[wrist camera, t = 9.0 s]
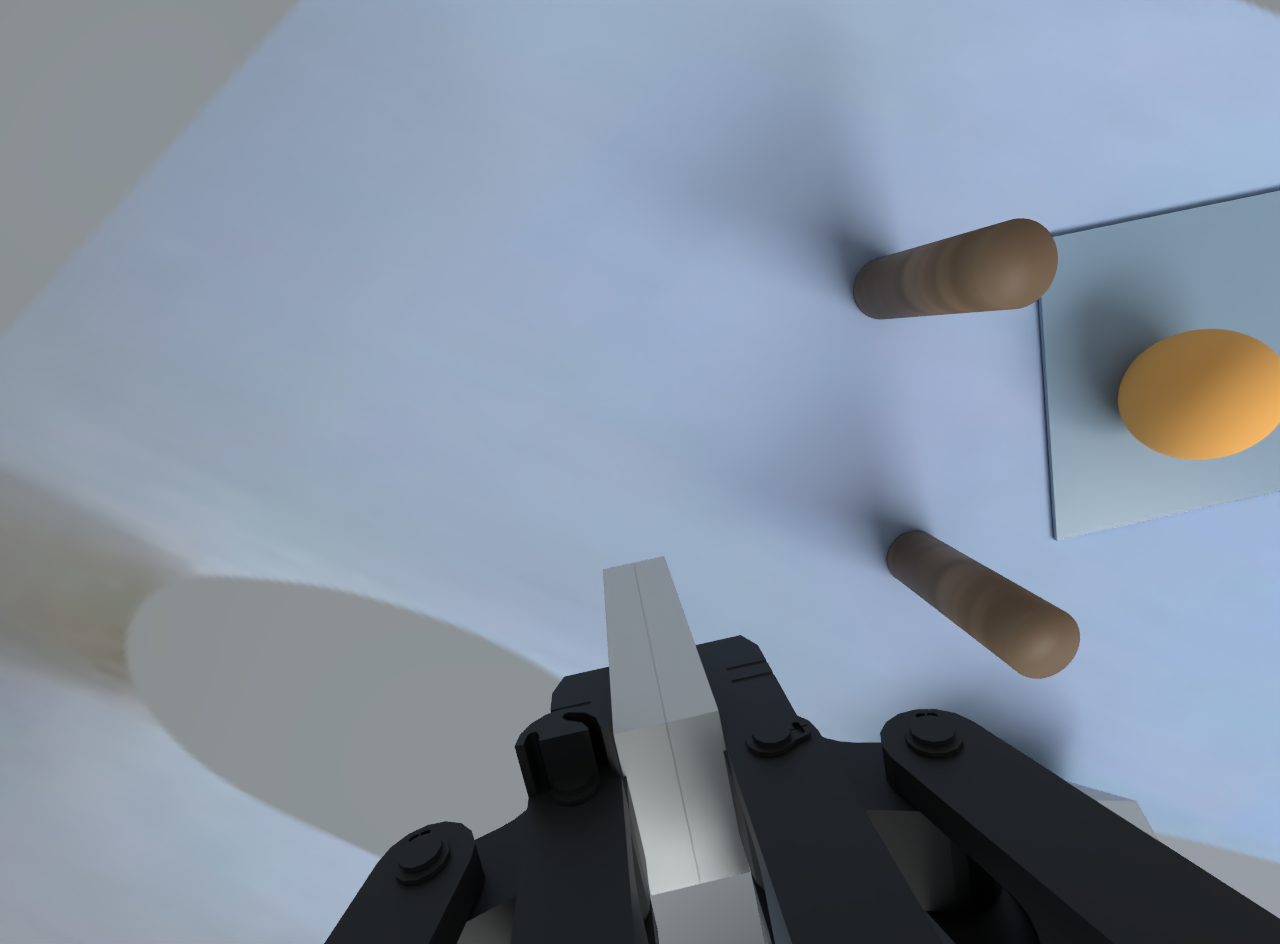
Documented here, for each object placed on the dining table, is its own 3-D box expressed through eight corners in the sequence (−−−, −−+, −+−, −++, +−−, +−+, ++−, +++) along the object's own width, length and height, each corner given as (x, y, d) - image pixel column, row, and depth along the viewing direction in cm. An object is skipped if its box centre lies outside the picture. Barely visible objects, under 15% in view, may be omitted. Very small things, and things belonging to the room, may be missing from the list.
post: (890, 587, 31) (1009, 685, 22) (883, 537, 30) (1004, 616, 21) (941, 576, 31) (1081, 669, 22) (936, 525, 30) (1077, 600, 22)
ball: (1304, 447, 27) (1146, 442, 31) (1311, 314, 26) (1146, 328, 30) (1265, 479, 24) (1096, 468, 28) (1271, 330, 23) (1094, 343, 27)
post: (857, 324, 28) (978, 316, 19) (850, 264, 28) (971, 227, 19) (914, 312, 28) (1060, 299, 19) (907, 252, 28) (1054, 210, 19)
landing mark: (1054, 539, 31) (1057, 540, 31) (1034, 240, 28) (1037, 239, 28) (1326, 479, 31) (1331, 480, 31) (1335, 179, 28) (1340, 177, 28)
